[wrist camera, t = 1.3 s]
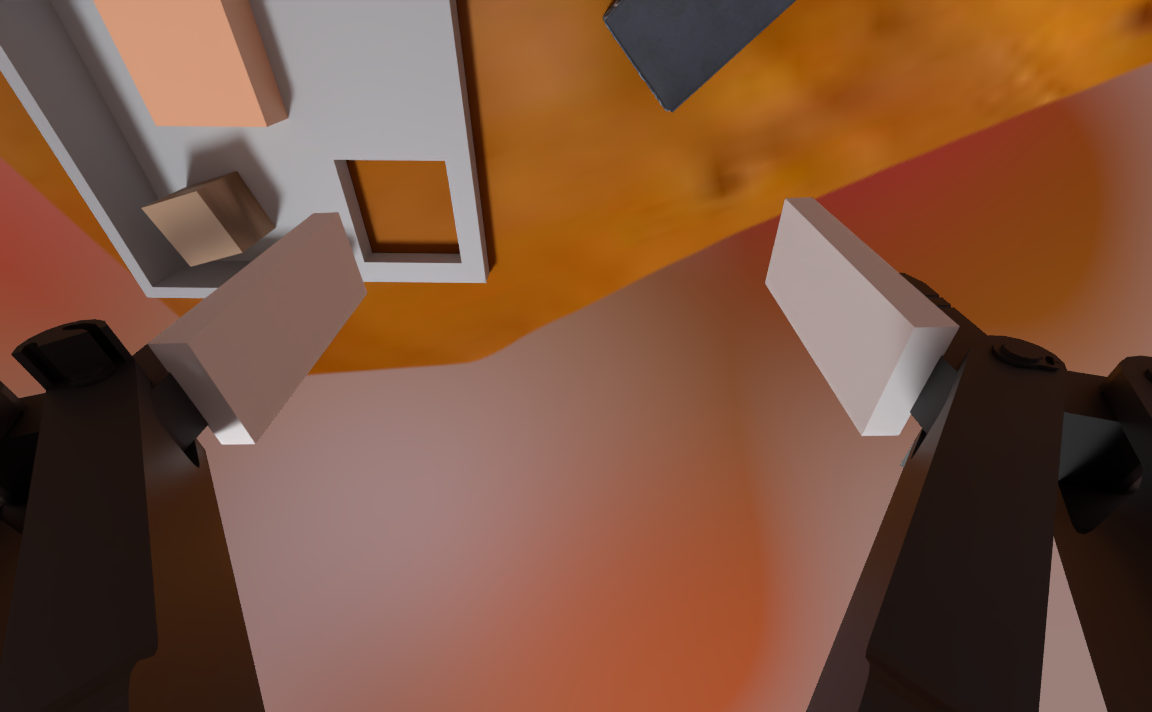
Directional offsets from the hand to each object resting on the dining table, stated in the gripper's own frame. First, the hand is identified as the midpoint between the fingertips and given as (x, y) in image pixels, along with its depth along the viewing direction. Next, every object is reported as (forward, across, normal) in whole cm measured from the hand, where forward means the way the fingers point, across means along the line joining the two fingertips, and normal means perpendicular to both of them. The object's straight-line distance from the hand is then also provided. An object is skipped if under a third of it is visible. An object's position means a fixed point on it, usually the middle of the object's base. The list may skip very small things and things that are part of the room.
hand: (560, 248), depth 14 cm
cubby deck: (+28, -22, -1) cm, 36 cm away
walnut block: (+26, -30, -7) cm, 40 cm away
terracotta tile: (+26, -26, +4) cm, 37 cm away
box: (+28, +8, +6) cm, 30 cm away
